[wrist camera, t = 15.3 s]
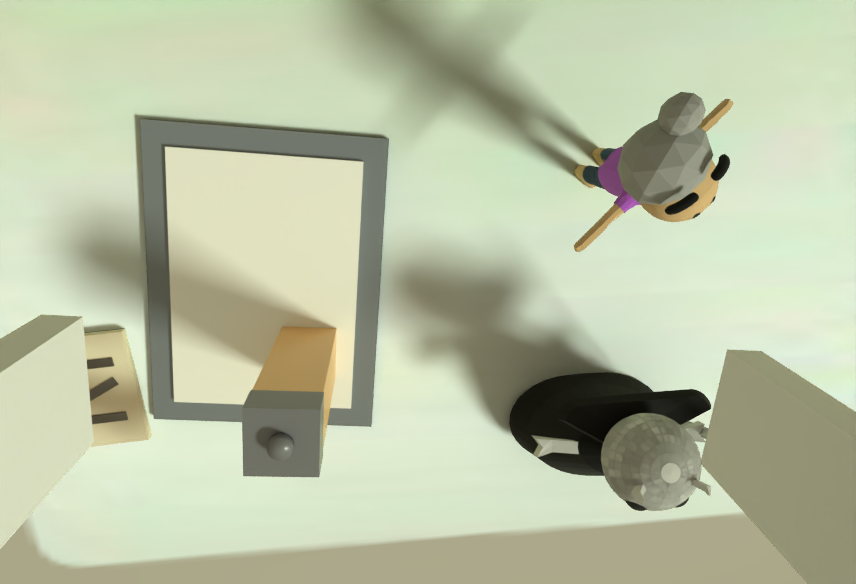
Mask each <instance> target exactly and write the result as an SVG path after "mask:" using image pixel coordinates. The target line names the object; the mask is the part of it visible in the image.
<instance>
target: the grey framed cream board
mask: <svg viewBox="0 0 856 584" xmlns="http://www.w3.org/2000/svg"><path fill="white" fill-rule="evenodd" d="M140 131H141V153H142V174H143V196H144V217H145V239H146V261H147V282H148V304H149V326H150V347H151V369H152V390H153V412H154V419H171V420H200V421H228V422H242V407H243V405H244V403H245V401H246V399H247V397H248V394H249V392H250V390H252V389H253V387H254V385H255V383H256V381H257V379H258V377H259V374H260V372H261V370H262V368H263V366H264V364H265V362H266V360H267V358H268V355H269V353H270V351H271V349H272V347H273V345H274V343H275V341H276V339H277V336H278V334H279V332H280V330H281V328H282V326H287V327H314V328H337V336H336V375H335V383H334V389H333V394H332V400H331V406H330V412H329V417H328V423H327V425H341V426H369V427H371V424H372V408H373V391H374V375H375V358H376V342H377V325H378V309H379V292H380V276H381V259H382V243H383V226H384V210H385V193H386V177H387V160H388V144H389V139H385V138H373V137H360V136H348V135H336V134H323V133H311V132H298V131H286V130H273V129H261V128H248V127H236V126H223V125H211V124H198V123H186V122H173V121H161V120H148V119H140Z"/></svg>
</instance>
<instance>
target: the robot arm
mask: <svg viewBox="0 0 856 584" xmlns="http://www.w3.org/2000/svg"><path fill="white" fill-rule="evenodd" d="M93 443H94V439H93V428H92V417H91V405H90V394H89V382H88V371H87V359H86V348H85V336H84V325H83V317H77V316H58V315H40V316H38V317H37V318H35V319H33V320H32V321H30V322H28V323H26V324H25V325H23V326H21V327H20V328H18V329H16V330H15V331H13V332H11V333H10V334H8V335H6V336H5V337H3V338H1V339H0V549H1V547H2V546H3V545H4V544H5V543H6V542H7V541H8V540H9V538H10V537H11V536H12V535H13V534H14V533H15V532H16V531H17V529H18V528H19V527H20V526H21V525H22V524H23V523H24V521H25V520H26V519H27V518H28V517H29V516H30V515H31V513H32V512H33V511H34V510H35V509H36V508H37V507H38V506H39V504H40V503H41V502H42V501H43V500H44V499H45V498H46V496H47V495H48V494H49V493H50V492H51V491H52V490H53V488H54V487H55V486H56V485H57V484H58V483H59V482H60V481H61V479H62V478H63V477H64V476H65V475H66V474H67V473H68V471H69V470H70V469H71V468H72V467H73V466H74V465H75V463H76V462H77V461H78V460H79V459H80V458H81V457H82V455H83V454H84V453H85V452H86V451H87V450H88V449H89V448H90V446H91V445H92V444H93ZM701 464H702V465H703V467H704V468H705V469H706V470H707V471H708V472H709V473H710V474H711V476H712V477H713V478H714V479H715V480H716V481H717V482H718V483H719V485H720V486H721V487H722V488H723V489H724V490H725V491H726V492H727V494H728V495H729V496H730V497H731V498H732V499H733V500H734V501H735V503H736V504H737V505H738V506H739V507H740V508H741V509H742V510H743V512H744V513H745V514H746V515H747V516H748V517H749V518H750V519H751V521H752V522H753V523H754V524H755V525H756V526H757V527H758V528H759V529H760V531H761V532H762V533H763V534H764V535H765V536H766V537H767V539H768V540H769V541H770V542H771V543H772V544H773V545H774V546H775V547H776V549H777V550H778V551H779V552H780V553H781V554H782V555H783V556H784V558H785V559H786V560H787V561H788V562H789V563H790V564H791V566H792V567H793V568H794V569H795V570H796V571H797V572H798V573H799V575H800V576H801V577H802V578H803V579H804V580H805V581H806V582H807V584H856V412H855V411H853V410H852V409H850V408H849V407H847V406H846V405H844V404H842V403H841V402H839V401H838V400H836V399H835V398H833V397H832V396H830V395H829V394H827V393H825V392H824V391H822V390H821V389H819V388H818V387H816V386H815V385H813V384H811V383H810V382H808V381H807V380H805V379H804V378H802V377H801V376H799V375H797V374H796V373H794V372H793V371H791V370H790V369H788V368H787V367H785V366H783V365H782V364H780V363H779V362H777V361H776V360H774V359H773V358H771V357H769V356H768V355H766V354H765V353H763V352H762V351H745V350H727V353H726V357H725V361H724V366H723V370H722V374H721V378H720V383H719V387H718V391H717V395H716V400H715V404H714V408H713V413H712V417H711V421H710V425H709V430H708V434H707V438H706V442H705V447H704V451H703V455H702V459H701Z"/></svg>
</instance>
